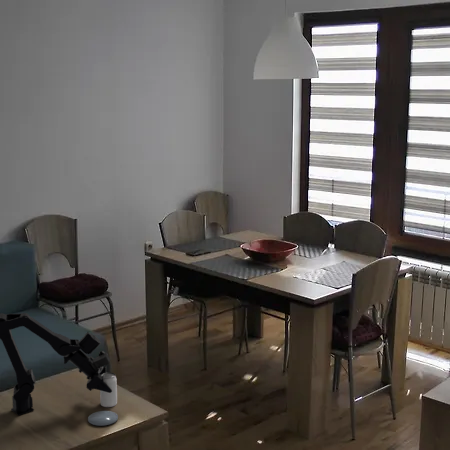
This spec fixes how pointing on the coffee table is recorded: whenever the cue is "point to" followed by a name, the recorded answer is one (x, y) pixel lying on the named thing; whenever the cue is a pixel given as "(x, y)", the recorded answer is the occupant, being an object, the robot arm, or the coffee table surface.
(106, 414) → the dish
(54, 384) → the coffee table surface
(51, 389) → the coffee table surface
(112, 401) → the can
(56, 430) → the coffee table surface
